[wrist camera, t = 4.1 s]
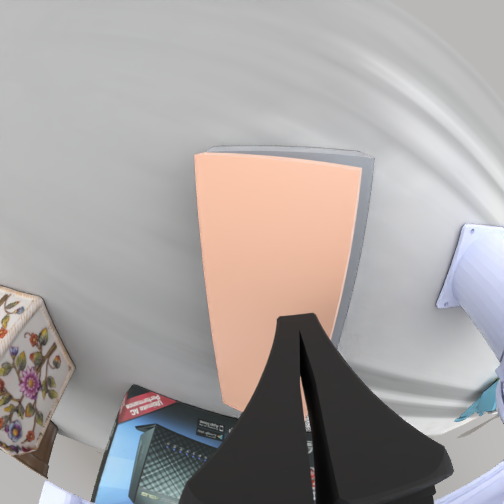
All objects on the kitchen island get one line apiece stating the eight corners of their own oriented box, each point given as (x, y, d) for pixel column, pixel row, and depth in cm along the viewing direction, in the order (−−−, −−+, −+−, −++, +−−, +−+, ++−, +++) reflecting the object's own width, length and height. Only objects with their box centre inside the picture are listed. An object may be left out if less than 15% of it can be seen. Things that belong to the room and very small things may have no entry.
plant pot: (34, 420, 46) (17, 460, 32) (4, 388, 38) (-18, 432, 24) (74, 439, 46) (59, 485, 32) (44, 410, 38) (22, 463, 24)
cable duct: (358, 151, 14) (374, 158, 12) (317, 373, 24) (321, 394, 22) (213, 146, 15) (205, 152, 12) (230, 374, 24) (228, 395, 22)
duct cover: (361, 168, 9) (359, 170, 9) (302, 428, 19) (298, 435, 18) (205, 152, 12) (194, 154, 12) (228, 396, 22) (223, 402, 21)
